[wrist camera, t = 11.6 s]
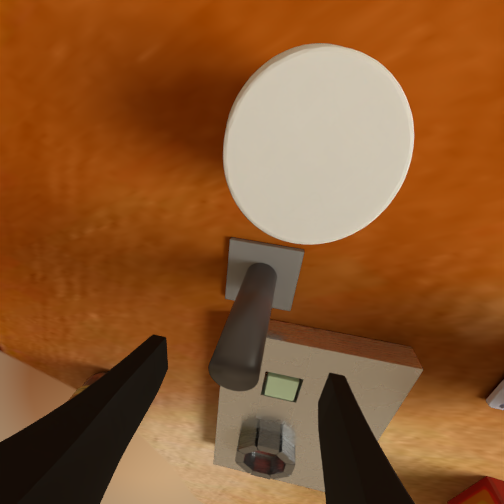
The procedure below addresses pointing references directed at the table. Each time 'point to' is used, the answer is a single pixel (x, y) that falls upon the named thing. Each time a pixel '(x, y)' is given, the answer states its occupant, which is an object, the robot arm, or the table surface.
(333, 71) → the supplement bottle
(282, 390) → the pad
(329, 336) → the panel
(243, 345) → the dark grey cylinder
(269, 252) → the pad
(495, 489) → the baking soda box
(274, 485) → the table surface
